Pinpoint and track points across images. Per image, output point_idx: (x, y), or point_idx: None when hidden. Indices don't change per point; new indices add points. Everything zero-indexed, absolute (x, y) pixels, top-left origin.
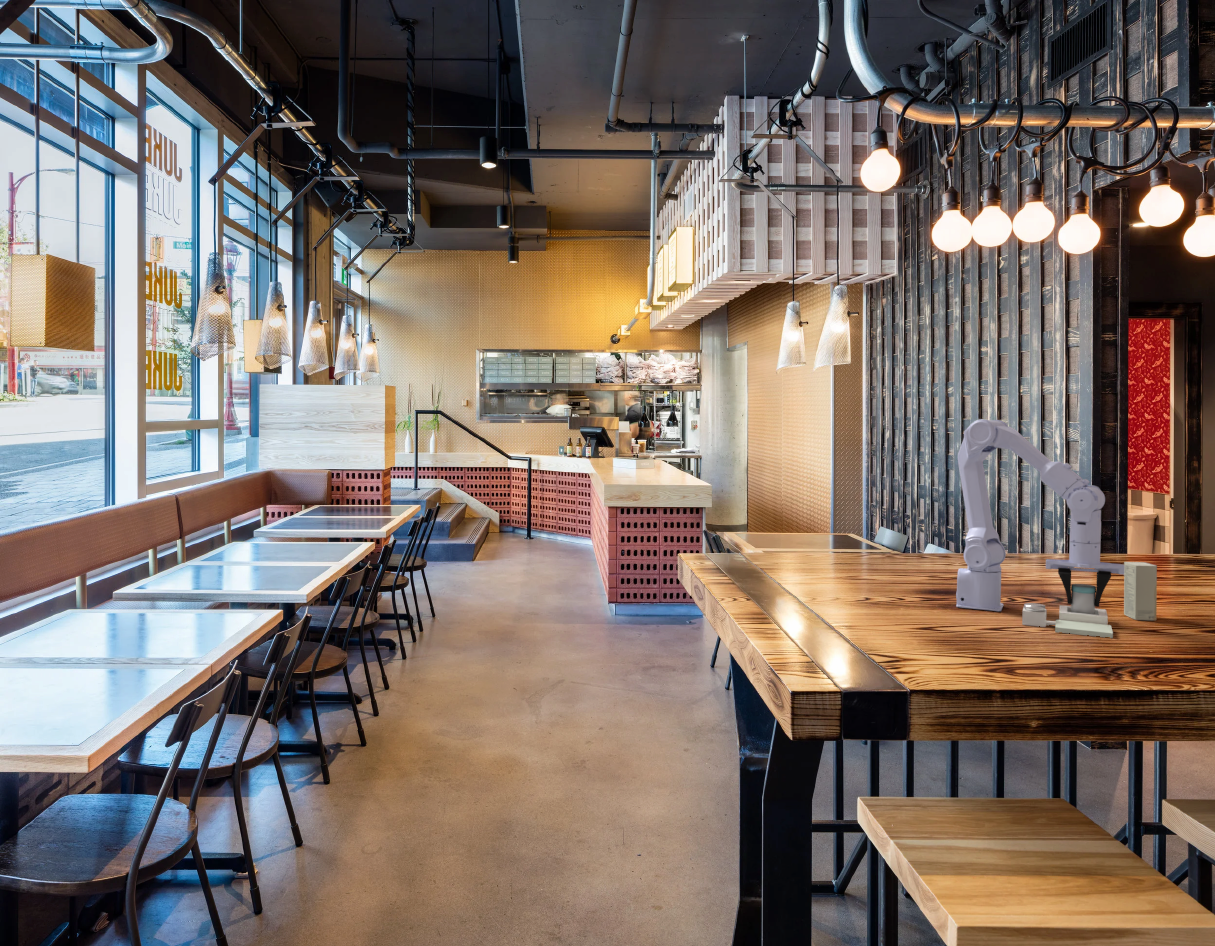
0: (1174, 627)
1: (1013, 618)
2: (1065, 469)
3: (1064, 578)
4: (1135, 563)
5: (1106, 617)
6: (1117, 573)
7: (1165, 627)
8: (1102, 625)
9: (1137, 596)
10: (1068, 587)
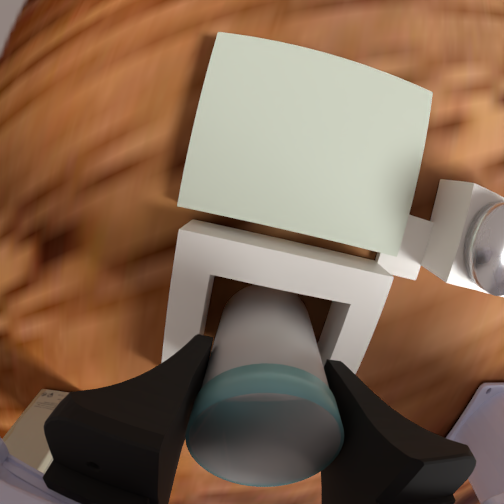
0: (6, 319)
1: (487, 307)
2: None
3: (429, 441)
4: None
5: (184, 230)
6: (12, 455)
7: (21, 314)
8: (217, 187)
9: (47, 444)
10: (374, 409)
